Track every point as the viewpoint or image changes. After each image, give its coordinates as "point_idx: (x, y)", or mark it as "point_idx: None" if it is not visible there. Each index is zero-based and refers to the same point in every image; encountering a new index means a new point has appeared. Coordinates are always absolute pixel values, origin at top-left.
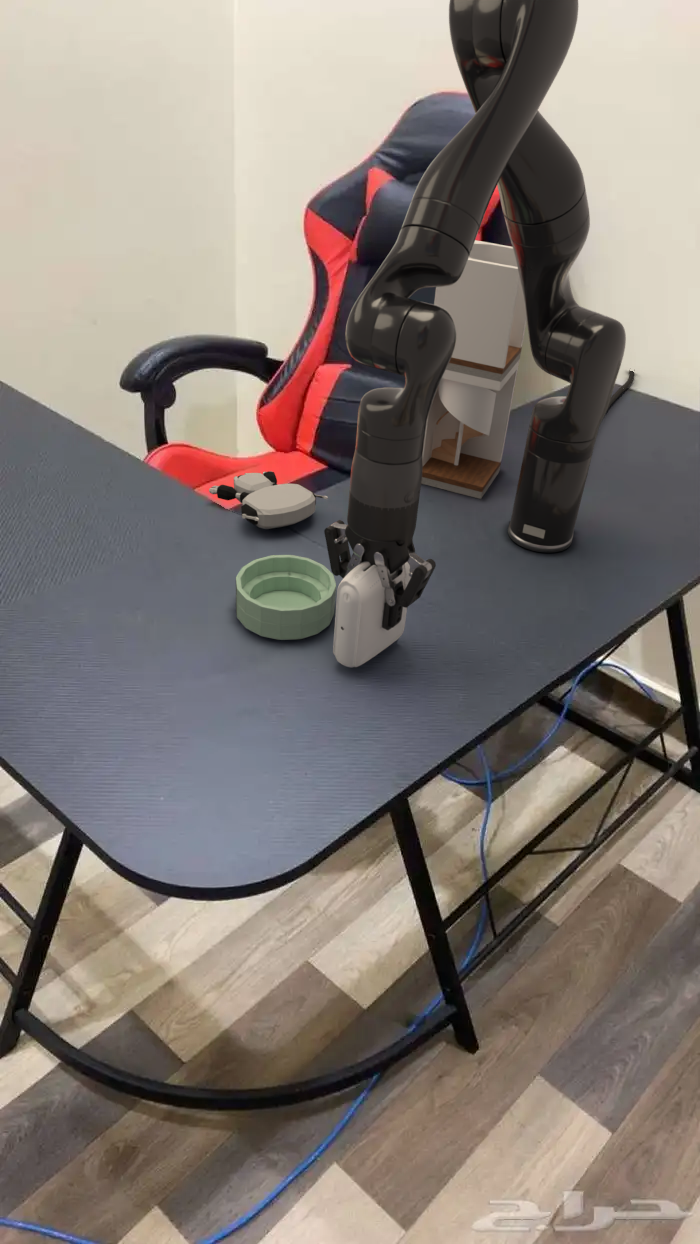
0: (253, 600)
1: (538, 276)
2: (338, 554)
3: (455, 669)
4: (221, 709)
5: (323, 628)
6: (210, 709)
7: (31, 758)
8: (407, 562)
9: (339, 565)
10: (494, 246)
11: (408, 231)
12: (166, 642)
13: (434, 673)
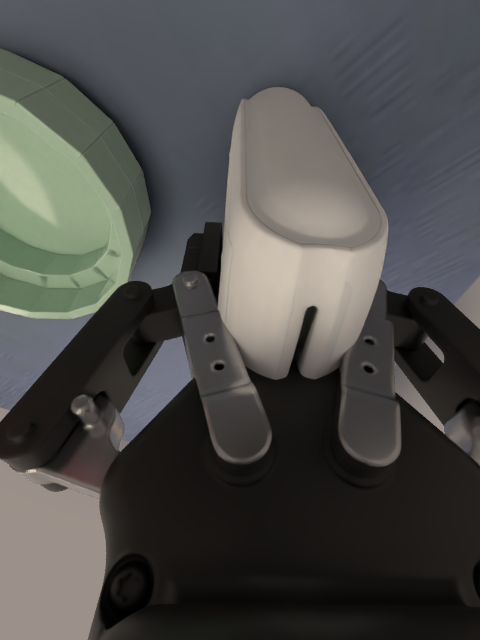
0: (45, 315)
1: None
2: (132, 384)
3: (471, 92)
4: (184, 367)
5: (146, 193)
6: (176, 371)
7: (132, 437)
8: (380, 272)
9: (151, 355)
10: None
11: None
12: (34, 335)
13: (417, 145)
